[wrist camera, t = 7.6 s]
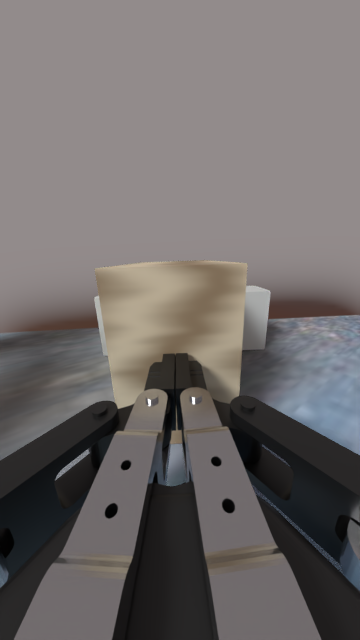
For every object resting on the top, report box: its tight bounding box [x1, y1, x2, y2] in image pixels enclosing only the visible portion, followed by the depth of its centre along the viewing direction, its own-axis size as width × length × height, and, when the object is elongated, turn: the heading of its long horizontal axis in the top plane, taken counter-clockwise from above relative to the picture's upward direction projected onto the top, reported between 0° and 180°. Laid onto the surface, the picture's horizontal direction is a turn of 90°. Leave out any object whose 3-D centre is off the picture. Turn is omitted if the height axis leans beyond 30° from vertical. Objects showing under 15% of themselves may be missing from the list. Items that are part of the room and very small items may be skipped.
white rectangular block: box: [94, 286, 270, 356], centre depth 29 cm, size 22×5×8 cm, turn 91°
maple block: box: [95, 260, 247, 444], centre depth 19 cm, size 8×14×12 cm, turn 1°
